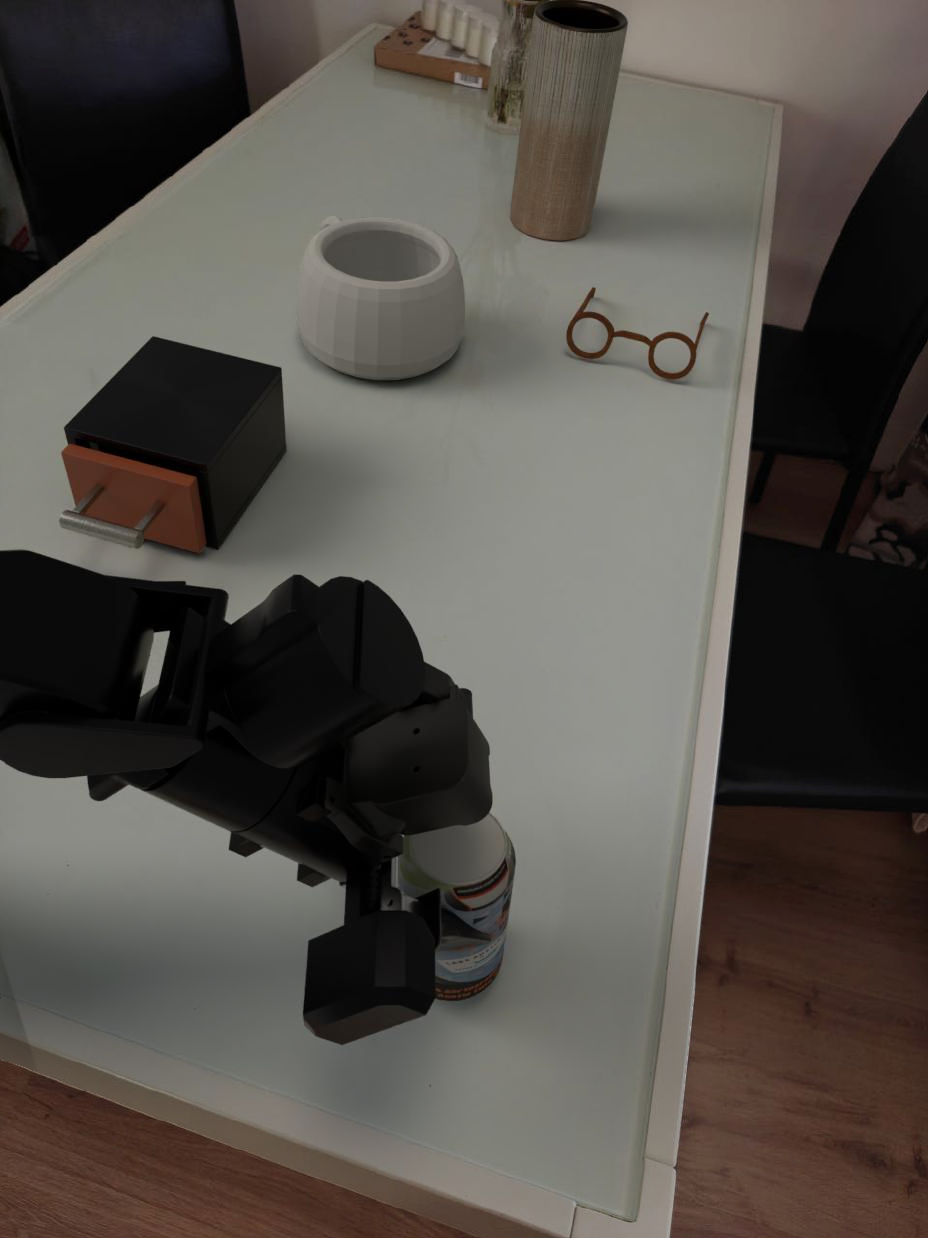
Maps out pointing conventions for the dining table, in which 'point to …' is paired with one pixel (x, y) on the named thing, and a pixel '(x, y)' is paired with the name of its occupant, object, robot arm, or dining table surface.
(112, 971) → the dining table surface
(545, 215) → the tall ribbed vase
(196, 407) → the small drawer box
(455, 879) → the beverage can
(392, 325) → the mug
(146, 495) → the drawer with bar handle
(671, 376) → the glasses
